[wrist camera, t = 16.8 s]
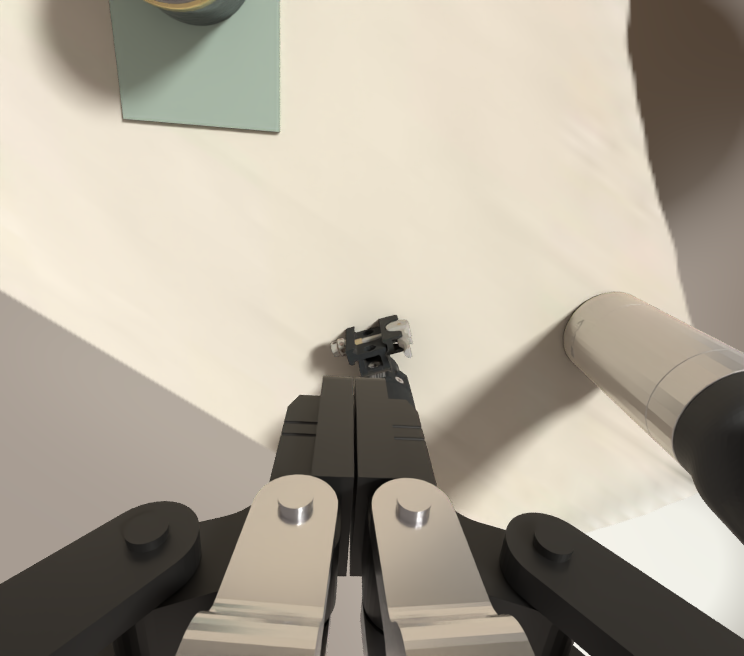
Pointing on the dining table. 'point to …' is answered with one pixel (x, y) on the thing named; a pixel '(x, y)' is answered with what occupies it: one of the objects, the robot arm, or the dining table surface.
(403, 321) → the scope
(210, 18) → the grey faceted ring
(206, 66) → the mat
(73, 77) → the dining table surface
